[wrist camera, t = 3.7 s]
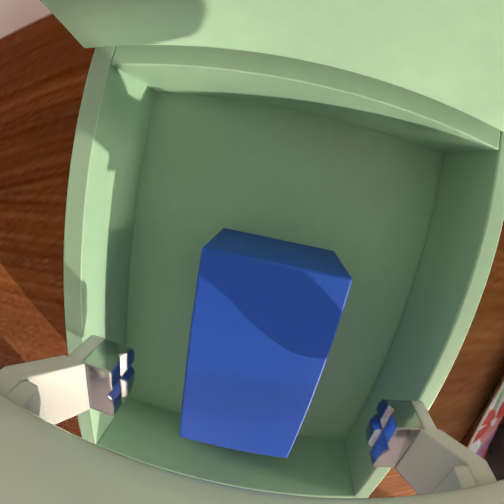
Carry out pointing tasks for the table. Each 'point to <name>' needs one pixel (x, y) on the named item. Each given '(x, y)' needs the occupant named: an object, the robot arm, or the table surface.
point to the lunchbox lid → (326, 38)
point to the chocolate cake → (490, 432)
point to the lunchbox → (279, 227)
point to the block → (259, 340)
